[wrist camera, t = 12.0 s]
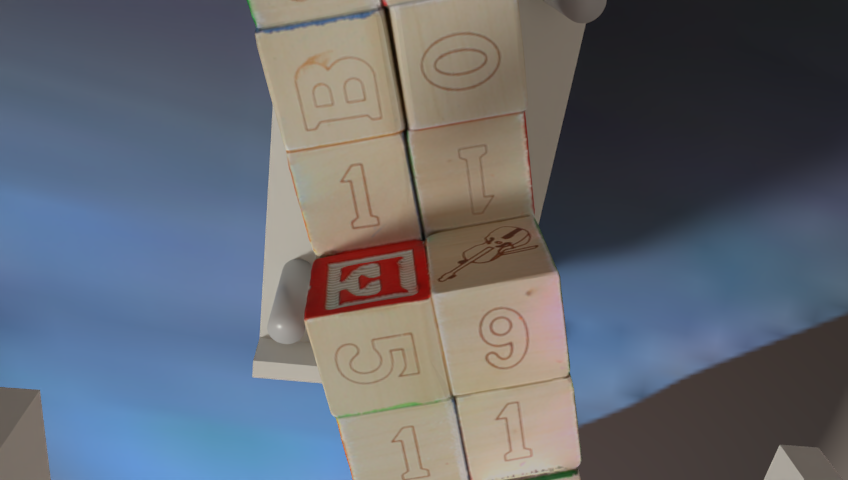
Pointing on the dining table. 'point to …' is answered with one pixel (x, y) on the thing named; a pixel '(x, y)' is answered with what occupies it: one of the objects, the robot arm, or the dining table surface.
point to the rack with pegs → (285, 229)
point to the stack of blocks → (423, 236)
